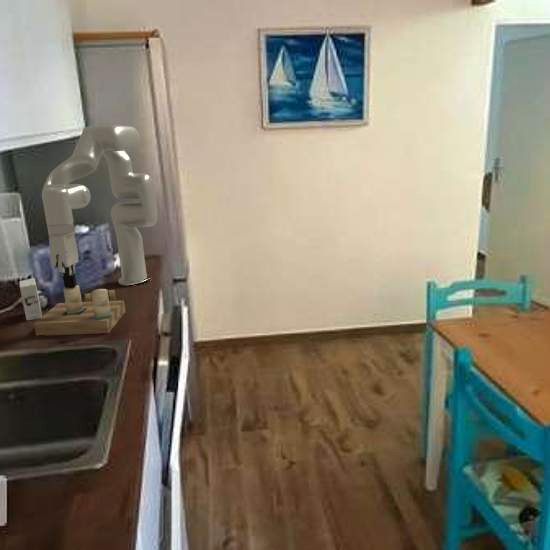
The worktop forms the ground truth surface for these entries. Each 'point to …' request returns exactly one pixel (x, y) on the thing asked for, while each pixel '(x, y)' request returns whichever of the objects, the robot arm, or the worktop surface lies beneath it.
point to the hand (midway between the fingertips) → (70, 286)
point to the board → (82, 317)
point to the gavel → (110, 292)
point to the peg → (73, 300)
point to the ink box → (30, 299)
